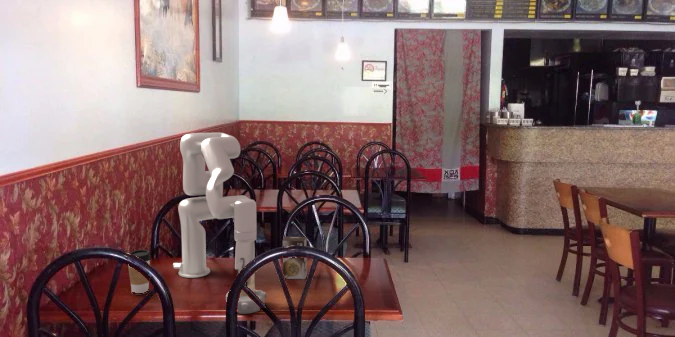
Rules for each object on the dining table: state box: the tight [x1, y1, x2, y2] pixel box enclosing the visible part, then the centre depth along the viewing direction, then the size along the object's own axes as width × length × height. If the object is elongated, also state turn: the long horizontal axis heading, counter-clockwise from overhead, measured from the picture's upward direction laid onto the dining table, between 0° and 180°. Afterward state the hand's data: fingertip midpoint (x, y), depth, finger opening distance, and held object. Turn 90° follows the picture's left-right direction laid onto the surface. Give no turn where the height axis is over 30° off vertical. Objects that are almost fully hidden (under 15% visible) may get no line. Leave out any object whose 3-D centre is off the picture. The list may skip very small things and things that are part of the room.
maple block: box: [240, 272, 256, 296], centre depth 190 cm, size 5×5×7 cm
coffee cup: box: [128, 249, 152, 294], centre depth 204 cm, size 8×8×15 cm
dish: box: [225, 288, 267, 315], centre depth 191 cm, size 14×14×5 cm
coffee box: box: [282, 236, 308, 280], centre depth 223 cm, size 9×6×16 cm
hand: (246, 283), depth 190 cm, fingers open, 9 cm apart
